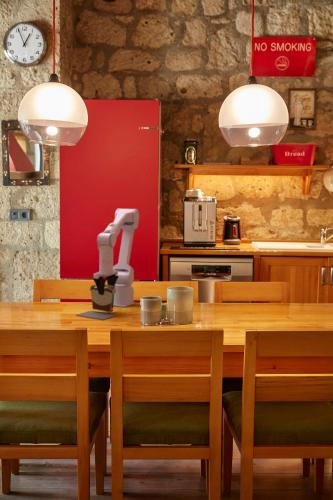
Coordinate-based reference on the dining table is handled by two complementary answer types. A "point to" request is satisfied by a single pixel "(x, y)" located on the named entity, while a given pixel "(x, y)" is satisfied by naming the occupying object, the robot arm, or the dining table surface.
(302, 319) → the dining table surface
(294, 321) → the dining table surface
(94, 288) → the food container
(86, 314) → the mat
